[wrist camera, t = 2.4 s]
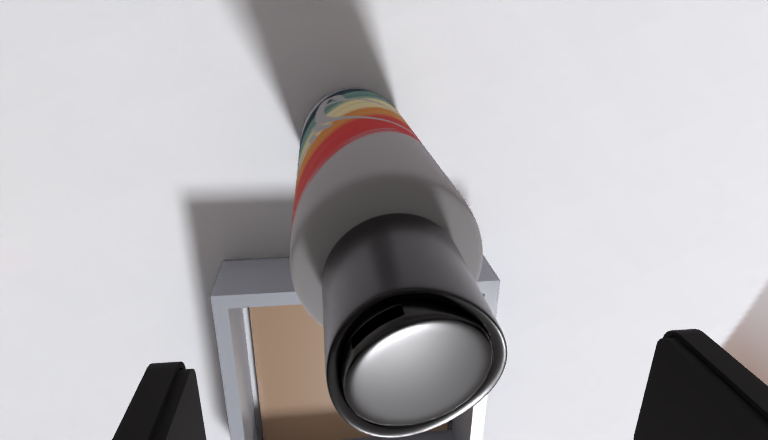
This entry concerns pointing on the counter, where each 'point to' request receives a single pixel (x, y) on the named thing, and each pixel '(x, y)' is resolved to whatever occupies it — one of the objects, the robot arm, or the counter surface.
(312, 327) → the square gray frame
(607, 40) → the counter surface
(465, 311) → the lotion bottle
